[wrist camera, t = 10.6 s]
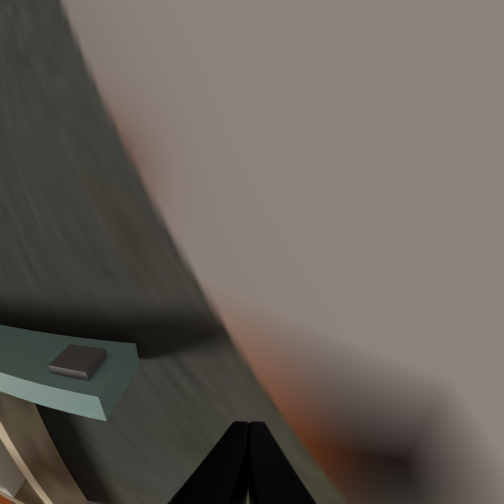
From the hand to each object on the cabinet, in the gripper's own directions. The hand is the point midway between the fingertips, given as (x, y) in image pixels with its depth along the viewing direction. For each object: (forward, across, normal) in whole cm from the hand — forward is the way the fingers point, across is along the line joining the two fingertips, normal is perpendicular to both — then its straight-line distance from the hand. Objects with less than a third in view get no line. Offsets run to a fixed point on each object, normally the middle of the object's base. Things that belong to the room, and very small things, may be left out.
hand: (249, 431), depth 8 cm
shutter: (+4, +11, 0) cm, 12 cm away
